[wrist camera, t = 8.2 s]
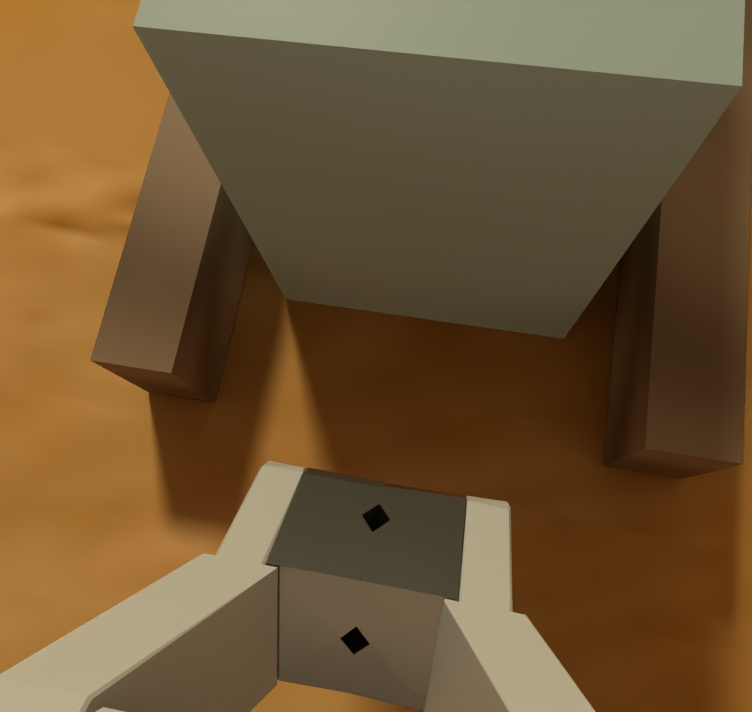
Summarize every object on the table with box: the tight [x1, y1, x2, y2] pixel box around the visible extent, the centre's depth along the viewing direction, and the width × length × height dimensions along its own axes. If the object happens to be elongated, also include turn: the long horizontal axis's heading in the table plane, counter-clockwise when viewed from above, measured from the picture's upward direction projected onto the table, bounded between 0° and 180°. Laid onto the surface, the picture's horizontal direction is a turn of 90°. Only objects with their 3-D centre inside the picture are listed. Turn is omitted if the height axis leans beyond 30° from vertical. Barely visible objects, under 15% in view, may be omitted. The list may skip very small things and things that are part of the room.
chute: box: [91, 0, 752, 478], centre depth 14 cm, size 16×11×2 cm
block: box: [133, 0, 745, 339], centre depth 11 cm, size 9×6×8 cm, turn 170°
